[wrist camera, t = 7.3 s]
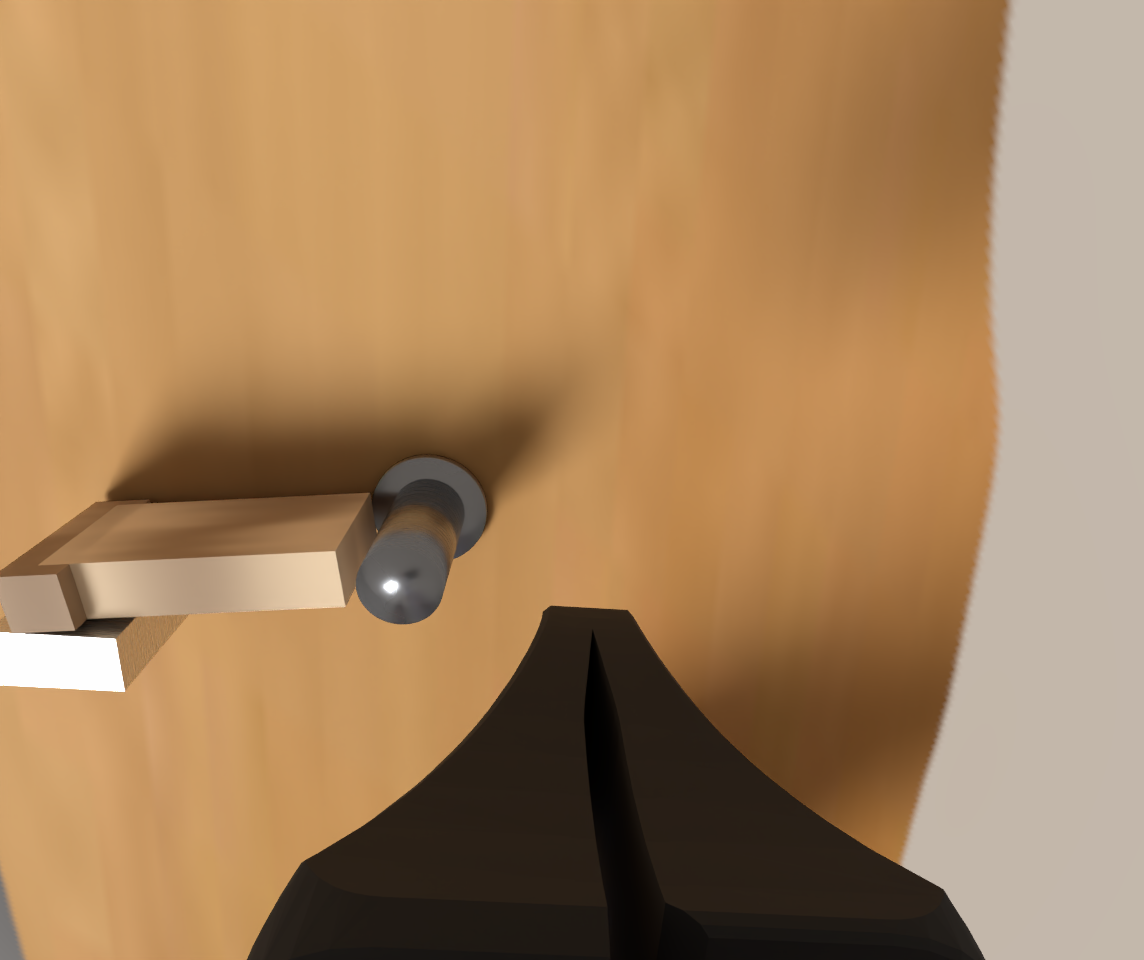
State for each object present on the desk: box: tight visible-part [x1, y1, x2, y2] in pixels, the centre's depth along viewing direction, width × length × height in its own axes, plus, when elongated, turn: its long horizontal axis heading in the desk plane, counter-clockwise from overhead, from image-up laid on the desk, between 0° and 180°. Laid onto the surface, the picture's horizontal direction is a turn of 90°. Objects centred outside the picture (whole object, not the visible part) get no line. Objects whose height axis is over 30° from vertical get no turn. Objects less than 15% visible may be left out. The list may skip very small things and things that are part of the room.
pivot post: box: [356, 455, 487, 624], centre depth 20 cm, size 3×3×4 cm
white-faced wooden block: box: [0, 614, 189, 691], centre depth 21 cm, size 2×3×4 cm, turn 86°
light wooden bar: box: [0, 493, 377, 633], centre depth 20 cm, size 8×2×4 cm, turn 93°
